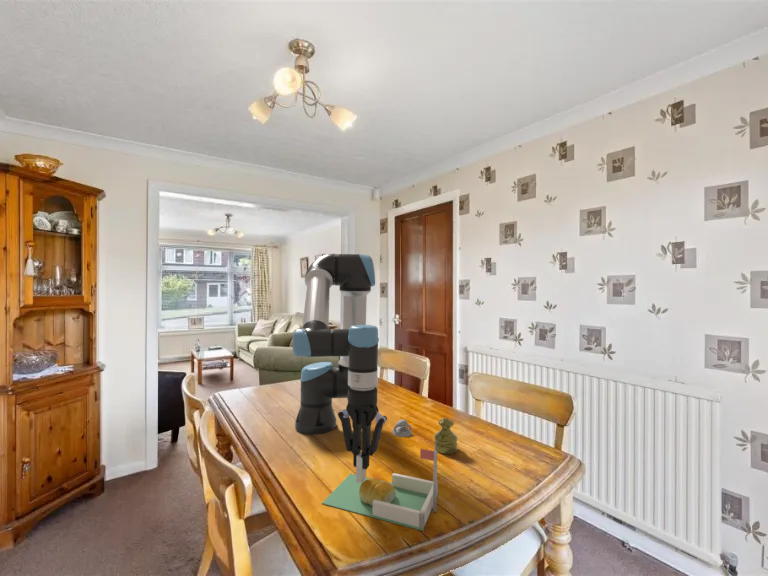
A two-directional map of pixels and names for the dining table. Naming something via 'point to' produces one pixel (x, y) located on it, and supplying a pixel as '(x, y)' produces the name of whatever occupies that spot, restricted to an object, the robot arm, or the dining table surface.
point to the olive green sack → (445, 438)
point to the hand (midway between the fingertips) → (361, 480)
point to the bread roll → (376, 491)
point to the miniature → (402, 429)
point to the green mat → (350, 501)
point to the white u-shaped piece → (412, 484)
